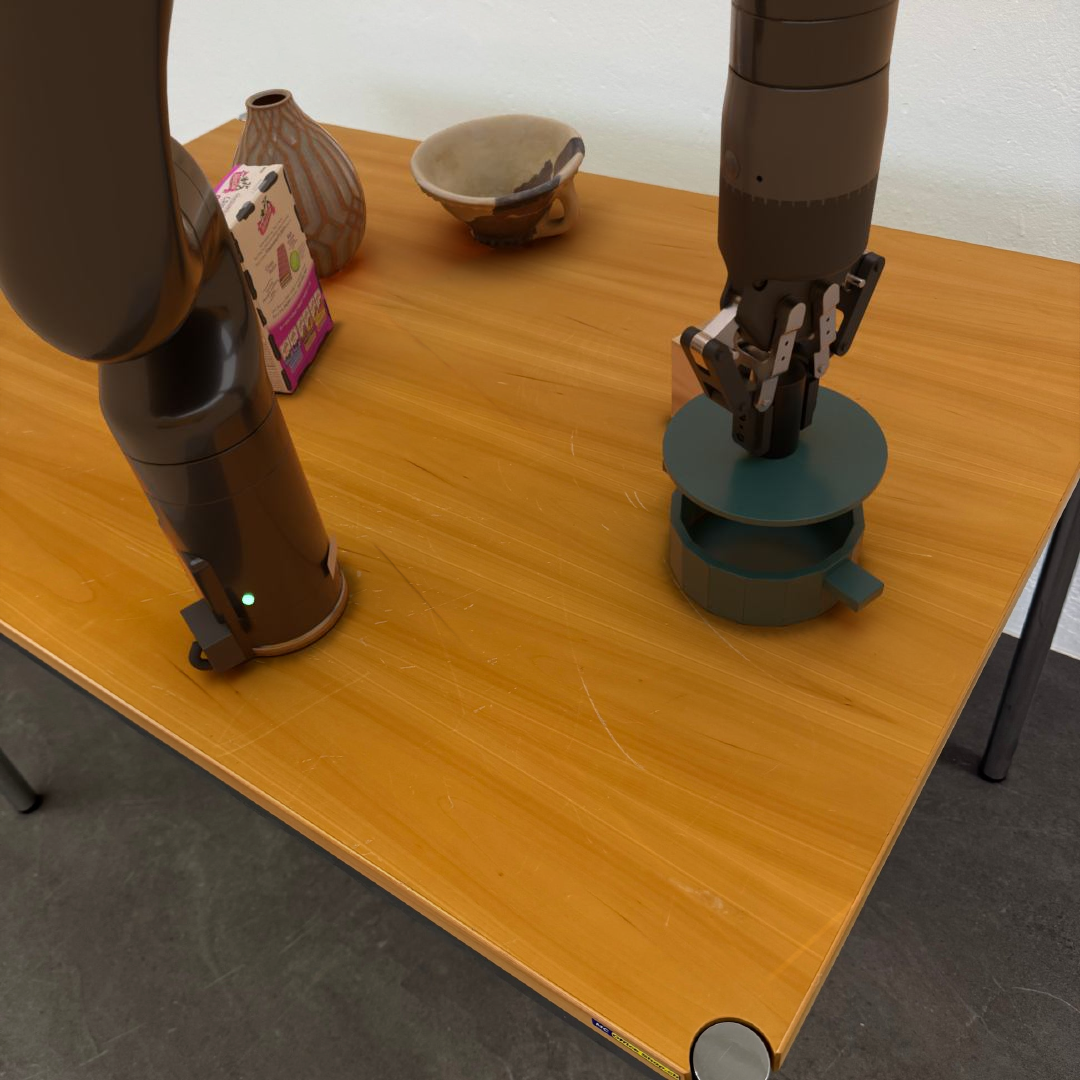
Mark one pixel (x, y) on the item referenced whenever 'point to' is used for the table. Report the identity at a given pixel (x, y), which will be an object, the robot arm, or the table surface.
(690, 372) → the block
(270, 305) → the candy bar box
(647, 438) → the table surface
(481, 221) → the bowl
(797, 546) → the pot
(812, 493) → the lid
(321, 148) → the vase
